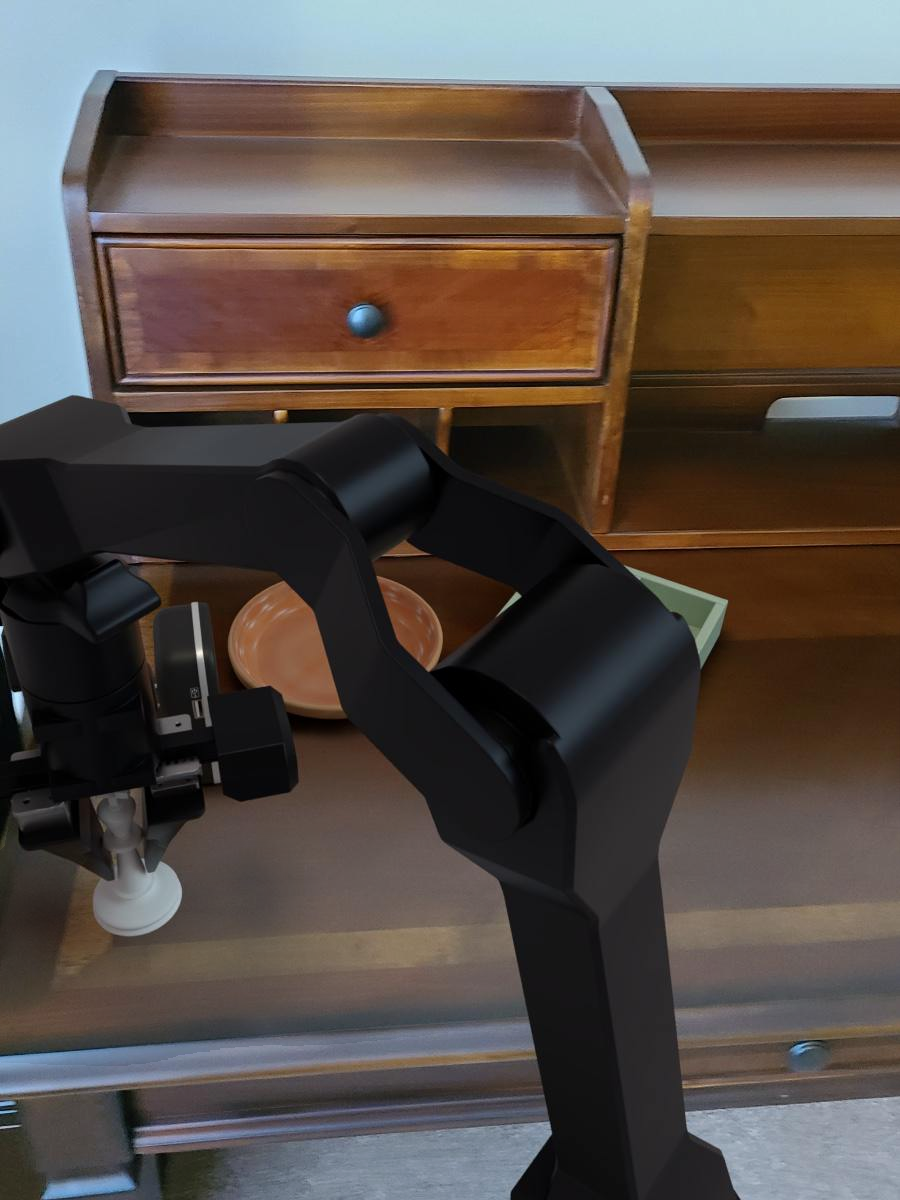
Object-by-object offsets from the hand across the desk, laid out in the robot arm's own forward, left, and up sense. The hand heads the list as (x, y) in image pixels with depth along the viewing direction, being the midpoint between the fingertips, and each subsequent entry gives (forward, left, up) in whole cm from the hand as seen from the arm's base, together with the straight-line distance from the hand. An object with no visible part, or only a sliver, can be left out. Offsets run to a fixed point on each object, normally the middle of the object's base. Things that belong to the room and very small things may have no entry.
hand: (131, 869), depth 60 cm
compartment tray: (-9, -35, -5) cm, 36 cm away
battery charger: (+8, -11, -6) cm, 15 cm away
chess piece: (0, 0, -3) cm, 3 cm away
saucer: (+7, -24, -6) cm, 26 cm away
